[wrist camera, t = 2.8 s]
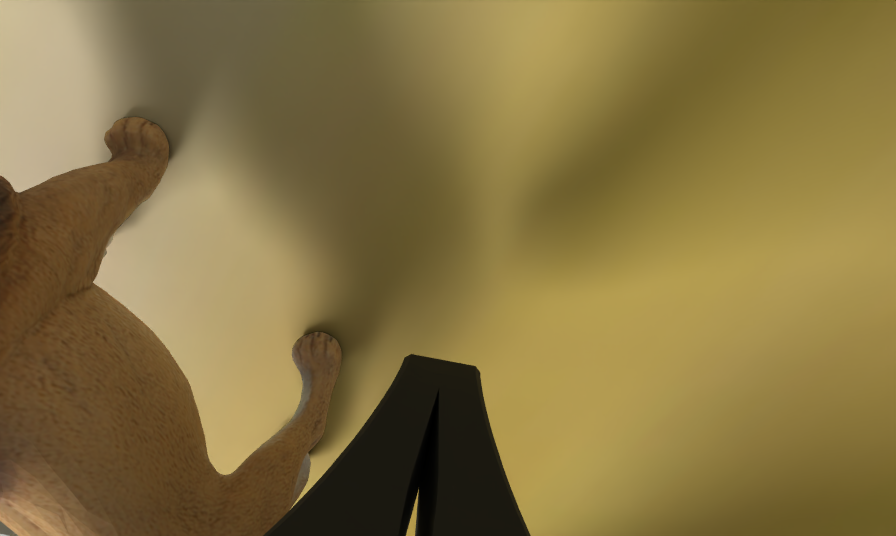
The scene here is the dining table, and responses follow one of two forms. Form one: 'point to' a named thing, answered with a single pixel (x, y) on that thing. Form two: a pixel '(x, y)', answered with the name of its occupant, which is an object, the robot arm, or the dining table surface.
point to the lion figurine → (119, 378)
